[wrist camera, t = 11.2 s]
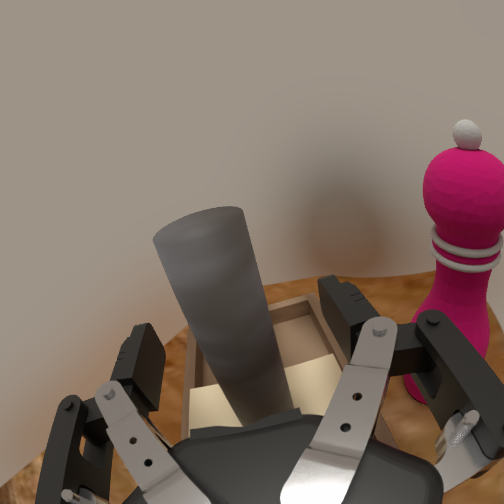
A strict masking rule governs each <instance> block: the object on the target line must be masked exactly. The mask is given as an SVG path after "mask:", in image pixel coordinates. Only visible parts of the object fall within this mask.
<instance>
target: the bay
mask: <svg viewBox="0 0 504 504" xmlns="http://www.w3.org/2000/svg"><path fill="white" fill-rule="evenodd" d="M268 309H269V313H270V316H271V320H272V324H273V328H274V332H275V336H276V340H277V343H278V347H279V351H280V355H281V359H282V363H283V366H284V368H287V367H290V366H294V365H297V364H301V363H304V362H307V361H310V360H314V359H317V358H320V357H323V356H326V355H329V354H332V353H333V355H334V357H335V359H336V361H337V363H338V365H339V367H340V369H341V371H342V372H343V369H344V367H345V365H346V364H347V363H348V361H347V359H346V357H345V355H344V354H343V352H342V350H341V348H340V346H339V344H338V342H337V341H336V339H335V337H334V335H333V333H332V331H331V330H330V328H329V326H328V324H327V322H326V320H325V319H324V316H323V314H322V310H321V305H320V302H319V300H318V298H317V297H316V295H315V293H314V292H313V293H309V294H306V295H303V296H299V297H296V298H292V299H289V300H285V301H282V302H278V303H275V304H271V305H268ZM215 384H218V382H217V380H216V378H215V377H214V375H213V373H212V371H211V369H210V367H209V365H208V363H207V361H206V359H205V357H204V355H203V353H202V351H201V349H200V347H199V345H198V343H197V341H196V339H195V337H194V335H193V333H192V331H191V329H190V327H189V329H188V339H187V350H186V362H185V375H184V390H183V407H182V428H181V441H182V440H184V439H186V438H189V402H190V389H193V388H199V387H205V386H210V385H215ZM373 438H374V439H376V440H378V441H380V442H382V443H385V444H387V445H389V446H392V447H394V448H396V449H399V448H398V446H397V444H396V442H395V440H394V438H393V436H392V434H391V432H390V430H389V428H388V426H387V424H386V422H385V420H384V418H383V417H382V415H381V414H380V417H379V421H378V424H377V428H376V431H375V434H374V437H373Z"/></svg>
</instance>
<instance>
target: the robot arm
mask: <svg viewBox="0 0 504 504" xmlns="http://www.w3.org/2000/svg"><path fill="white" fill-rule="evenodd" d="M318 289H319V297H320V305H321V310H322V314H323V316H324V319H325V320H326V322H327V324H328V326H329V328H330V330H331V331H332V333H333V335H334V337H335V339H336V341H337V342H338V344H339V346H340V348H341V350H342V352H343V354H344V355H345V357H346V359H347V361H348V363H347V364H346V365H345V367H344V369H343V372H342V374H341V377H340V380H339V382H338V384H337V387H336V389H335V392H334V394H333V396H332V399H331V401H330V403H329V406H328V408H327V410H326V412H325V415H324V416H323V415H316V414H301V411H300V407H298V408H295V409H291V410H288V411H284V412H280V413H276V414H272V415H270V416H268V417H265V418H263V419H261V420H259V421H257V422H254V423H252V424H250V425H248V426H245V427H230V426H211V427H204V428H196V429H190V437H189V438H186V439H184V440H182V441H180V442H179V443H177V444H176V445H174V446H172V445H171V444H170V443H169V442H168V440H167V439H166V438H165V437H164V436H163V434H162V433H161V432H160V431H159V429H158V428H157V427H156V426H155V424H154V423H153V422H152V420H151V419H150V418H149V417H148V416H149V412H152V411H158V409H159V401H160V393H161V386H162V379H163V372H164V365H165V359H166V354H165V350H164V347H163V345H162V343H161V342H160V340H159V338H158V336H157V334H156V332H155V331H154V329H153V327H152V325H151V324H150V323H144V324H140V325H135V326H134V328H133V330H132V333H131V336H130V337H128V338H127V339H126V340H125V341H124V343H123V344H122V345H121V348H120V351H119V355H118V357H117V361H116V363H115V366H114V369H113V372H112V376H111V379H110V381H108V382H105V383H104V384H102V385H101V386H100V387H99V388H98V389H97V391H96V394H95V397H94V398H91V399H88V400H85V401H82V400H81V399H80V398H79V397H78V396H77V395H69V396H67V397H66V398H64V399H63V400H62V401H61V403H60V404H59V406H58V409H57V413H56V416H55V419H54V422H53V425H52V429H51V432H50V436H49V439H48V443H47V447H46V451H45V455H44V459H43V463H42V468H41V472H40V477H39V482H38V488H37V494H36V500H35V504H110V503H109V491H110V478H111V467H112V457H113V449H114V447H115V448H116V450H117V452H118V454H119V455H120V457H121V459H122V460H123V462H124V464H125V465H126V467H127V469H128V470H129V472H130V473H131V475H132V476H133V478H134V479H135V481H136V482H137V484H138V485H139V486H138V487H137V488H136V489H135V490H134V491H133V492H132V493H131V495H130V496H129V497H128V498H127V499H126V500H125V501H124V502H123V503H122V504H442V499H443V494H445V493H447V492H449V491H450V490H452V489H454V488H455V487H457V486H459V485H460V484H462V483H463V482H465V481H467V480H468V479H470V478H478V477H480V476H482V475H483V474H485V473H486V472H487V471H488V470H490V469H491V468H492V467H493V466H495V465H496V464H497V463H498V462H499V461H501V460H502V459H503V458H504V385H503V384H502V382H501V381H500V379H499V378H498V377H497V375H496V374H495V373H494V371H493V370H492V369H491V368H490V366H489V365H488V364H487V362H486V361H485V360H484V359H483V357H482V356H481V355H480V354H479V352H478V351H477V350H476V349H475V348H474V346H473V345H472V344H471V343H470V342H469V340H468V339H467V338H466V337H465V336H464V334H463V333H462V332H461V331H460V330H459V329H458V328H457V326H456V325H455V324H454V323H453V322H452V321H451V320H450V319H449V317H448V316H447V315H446V314H445V313H443V312H441V311H439V310H434V309H430V310H425V311H423V312H421V313H420V314H419V315H418V317H417V320H416V322H414V323H407V324H396V323H395V322H394V321H393V320H392V319H390V318H387V317H381V316H380V315H379V314H378V312H377V311H376V310H375V309H374V307H373V306H372V305H371V304H370V303H369V301H368V300H367V299H365V296H364V295H363V294H361V292H360V290H359V289H358V288H357V287H356V286H355V285H353V284H351V283H349V282H343V283H340V282H339V281H338V279H337V278H336V277H335V275H330V276H326V277H323V278H320V279H318ZM405 374H410V375H411V377H412V378H413V380H414V382H415V383H416V385H417V387H418V389H419V390H420V392H421V394H422V396H423V397H424V399H425V401H426V403H427V405H428V406H429V408H430V410H431V412H432V414H433V416H434V417H435V419H436V421H437V423H438V425H439V427H440V429H441V433H440V434H439V436H438V437H437V440H436V444H435V447H436V452H437V462H436V464H435V466H433V465H432V464H431V463H430V462H428V461H426V460H424V459H421V458H419V457H416V456H413V455H411V454H408V453H406V452H403V451H401V450H399V449H396V448H394V447H392V446H389V445H387V444H385V443H382V442H380V441H378V440H376V439H374V438H373V437H374V434H375V431H376V428H377V424H378V421H379V417H380V414H381V410H382V407H383V403H384V399H385V396H386V392H387V388H388V384H389V380H390V377H391V376H398V375H405ZM81 436H83V437H84V438H85V439H86V442H85V447H84V452H83V457H82V455H81V454H80V451H79V446H80V441H81Z"/></svg>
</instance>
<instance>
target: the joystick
mask: <svg viewBox="0 0 504 504" xmlns="http://www.w3.org/2000/svg"><path fill="white" fill-rule="evenodd" d="M153 242H154V245H155V247H156V250H157V252H158V255H159V257H160V260H161V262H162V265H163V267H164V270H165V272H166V275H167V277H168V279H169V282H170V284H171V286H172V289H173V291H174V293H175V296H176V298H177V300H178V303H179V305H180V307H181V309H182V311H183V313H184V316H185V318H186V320H187V322H188V324H189V327H190V329H191V331H192V333H193V335H194V337H195V339H196V341H197V343H198V345H199V347H200V349H201V351H202V353H203V355H204V357H205V359H206V361H207V363H208V365H209V367H210V369H211V371H212V373H213V375H214V377H215V378H216V380H217V382H218V384H215V385H210V386H205V387H199V388H193V389H190V402H189V437H190V429H196V428H204V427H211V426H230V427H245V426H248V425H250V424H252V423H254V422H257V421H259V420H261V419H263V418H265V417H268V416H270V415H272V414H276V413H280V412H284V411H288V410H291V409H295V408H298V407H300V411H301V414H316V415H323V416H324V415H325V412H326V410H327V408H328V406H329V403H330V401H331V399H332V396H333V394H334V392H335V389H336V387H337V384H338V382H339V380H340V377H341V374H342V371H341V369H340V367H339V365H338V363H337V361H336V359H335V357H334V355H333V353H332V354H329V355H326V356H323V357H320V358H317V359H314V360H310V361H307V362H304V363H301V364H297V365H294V366H290V367H287V368H284V366H283V363H282V359H281V355H280V351H279V347H278V343H277V340H276V336H275V332H274V328H273V324H272V320H271V316H270V313H269V309H268V305H267V301H266V297H265V293H264V290H263V286H262V282H261V278H260V275H259V271H258V267H257V263H256V259H255V255H254V252H253V248H252V244H251V240H250V236H249V232H248V229H247V225H246V221H245V217H244V213H243V210H242V209H241V208H238V207H232V206H231V207H230V206H229V207H228V206H227V207H217V208H211V209H207V210H203V211H199V212H196V213H193V214H190V215H187V216H185V217H183V218H180V219H178V220H176V221H174V222H172V223H170V224H168V225H167V226H165V227H163V228H162V229H161V230H160V231H158V232H157V233H156V235H155V236H154V238H153Z"/></svg>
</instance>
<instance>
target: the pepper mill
mask: <svg viewBox="0 0 504 504" xmlns="http://www.w3.org/2000/svg"><path fill="white" fill-rule="evenodd" d="M453 138H454V141H455V142H456V144H457V145H458V147H455V148H451V149H448V150H445V151H443V152H442V153H440V154H438V155H437V156H436V157H435V158H434V159H433V160H432V161H431V162H430V164H429V166H428V168H427V170H426V172H425V176H424V181H423V198H424V204H425V208H426V210H427V212H428V214H429V215H430V216H431V218H432V219H433V221H434V222H435V225H434V226H433V227H432V229H431V238H432V241H431V243H430V250H431V252H432V254H433V256H434V257H435V258H436V274H435V280H434V284H433V287H432V289H431V291H430V293H429V295H428V296H427V298H426V299H425V301H424V302H423V303H422V305H421V306H420V308H419V309H418V310H417V312H416V313H415V315H414V317H413V319H412V321H411V323H414V322H416V320H417V317H418V315H419V314H420V313H421V312H423V311H425V310H430V309H434V310H439V311H441V312H443V313H445V314H446V315H447V316H448V317H449V319H450V320H451V321H452V322H453V323H454V324H455V325H456V326H457V328H458V329H459V330H460V331H461V332H462V333H463V334H464V336H465V337H466V338H467V339H468V340H469V342H470V343H471V344H472V345H473V346H474V348H475V349H476V350H477V351H478V352H479V354H480V355H481V356H482V357H483V359H484V358H485V355H486V352H487V348H488V344H489V334H490V327H489V319H488V313H487V305H486V292H487V287H488V280H489V277H490V274H491V271H492V268H494V267H495V266H496V265H497V264H498V263H499V261H500V259H501V251H500V250H501V248H502V246H503V237H502V235H501V231H503V229H504V165H503V163H502V162H501V161H500V160H498V159H497V158H496V157H495V156H494V155H492V154H490V153H488V152H486V151H484V150H480V149H478V148H479V146H480V144H481V141H482V136H481V132H480V130H479V128H478V127H477V125H476V124H475V123H473V122H472V121H469V120H460V121H459V122H457V123H456V124H455V126H454V128H453ZM404 383H405V386H406V389H407V390H408V392H409V393H410V394H411V396H413V397H414V398H415V399H416V400H418V401H420V402H422V403H425V404H427V403H426V401H425V399H424V397H423V396H422V394H421V392H420V390H419V389H418V387H417V385H416V383H415V382H414V380H413V378H412V377H411V375H410V374H405V375H404Z"/></svg>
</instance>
